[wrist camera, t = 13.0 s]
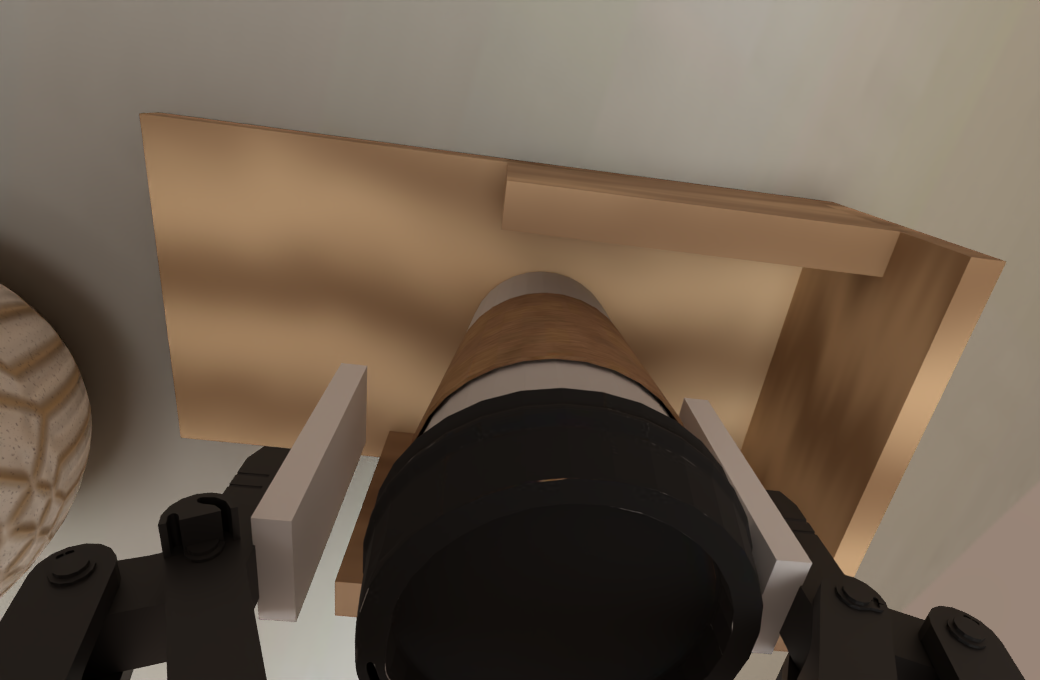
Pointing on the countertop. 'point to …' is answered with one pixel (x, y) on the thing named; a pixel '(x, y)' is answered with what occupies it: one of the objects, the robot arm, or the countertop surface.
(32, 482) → the vase
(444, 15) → the countertop surface
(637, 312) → the shelf
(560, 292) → the coffee cup
